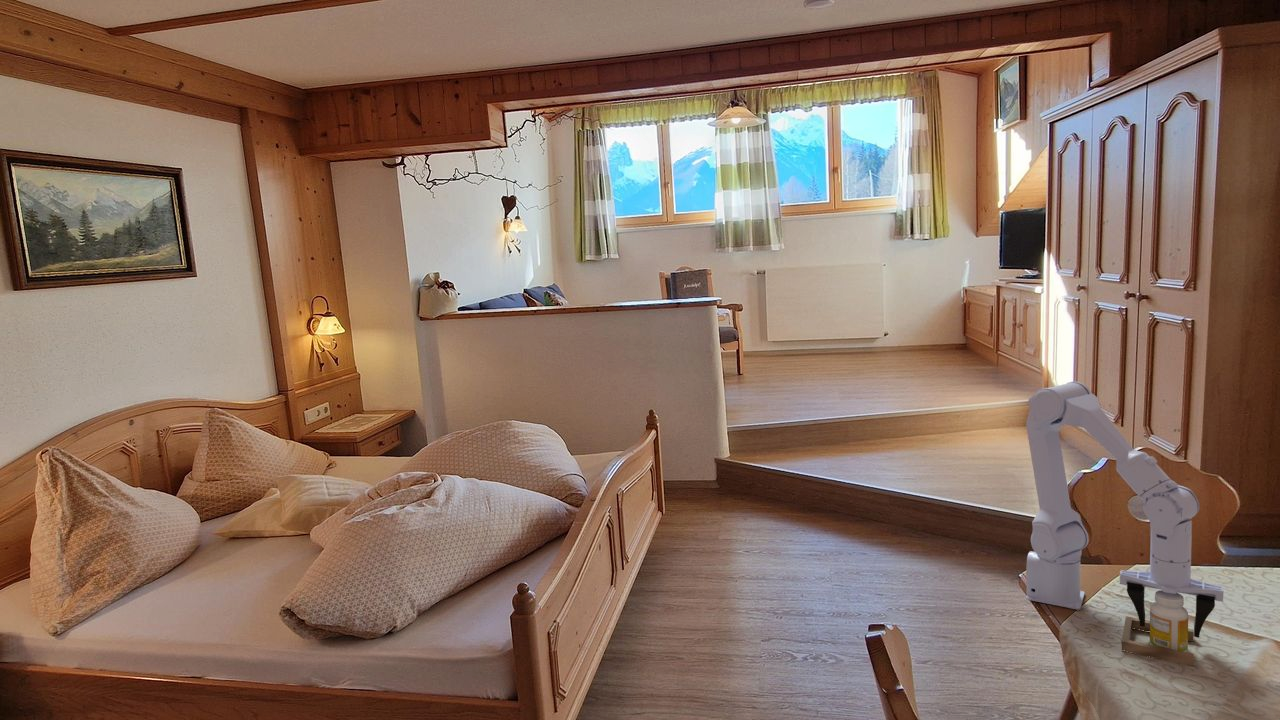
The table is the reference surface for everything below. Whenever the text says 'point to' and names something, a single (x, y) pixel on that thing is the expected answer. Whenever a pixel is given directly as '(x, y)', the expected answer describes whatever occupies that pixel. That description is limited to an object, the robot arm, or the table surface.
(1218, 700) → the table surface
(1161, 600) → the supplement bottle
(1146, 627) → the wooden frame
